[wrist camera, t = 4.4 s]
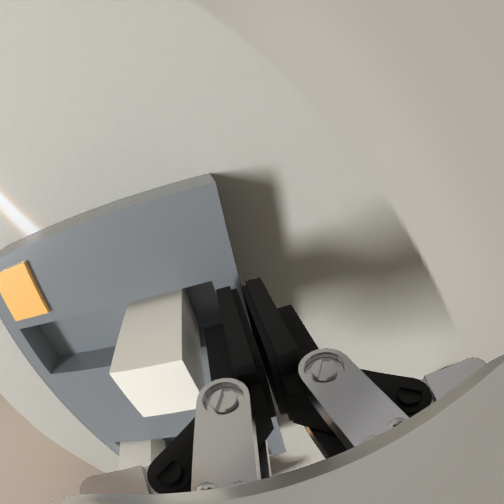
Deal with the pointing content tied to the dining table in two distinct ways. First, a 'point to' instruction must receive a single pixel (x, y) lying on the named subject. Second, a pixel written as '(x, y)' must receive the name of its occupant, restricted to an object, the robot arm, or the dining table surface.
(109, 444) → the switch panel
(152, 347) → the tab near
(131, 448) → the tab far
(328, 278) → the dining table surface
